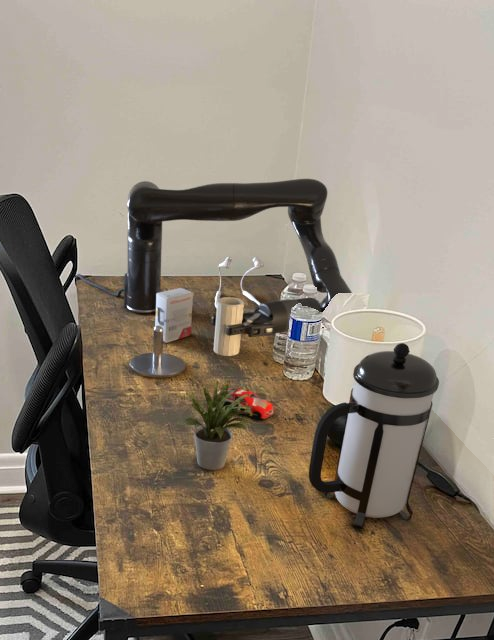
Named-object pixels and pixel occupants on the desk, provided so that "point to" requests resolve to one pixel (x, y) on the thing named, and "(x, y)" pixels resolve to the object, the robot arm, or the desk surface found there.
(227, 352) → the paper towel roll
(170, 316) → the ink box
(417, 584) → the desk surface
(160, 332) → the stand
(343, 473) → the coffee press
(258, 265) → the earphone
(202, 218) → the robot arm
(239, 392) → the race car
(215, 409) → the house plant
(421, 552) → the desk surface
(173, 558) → the desk surface
